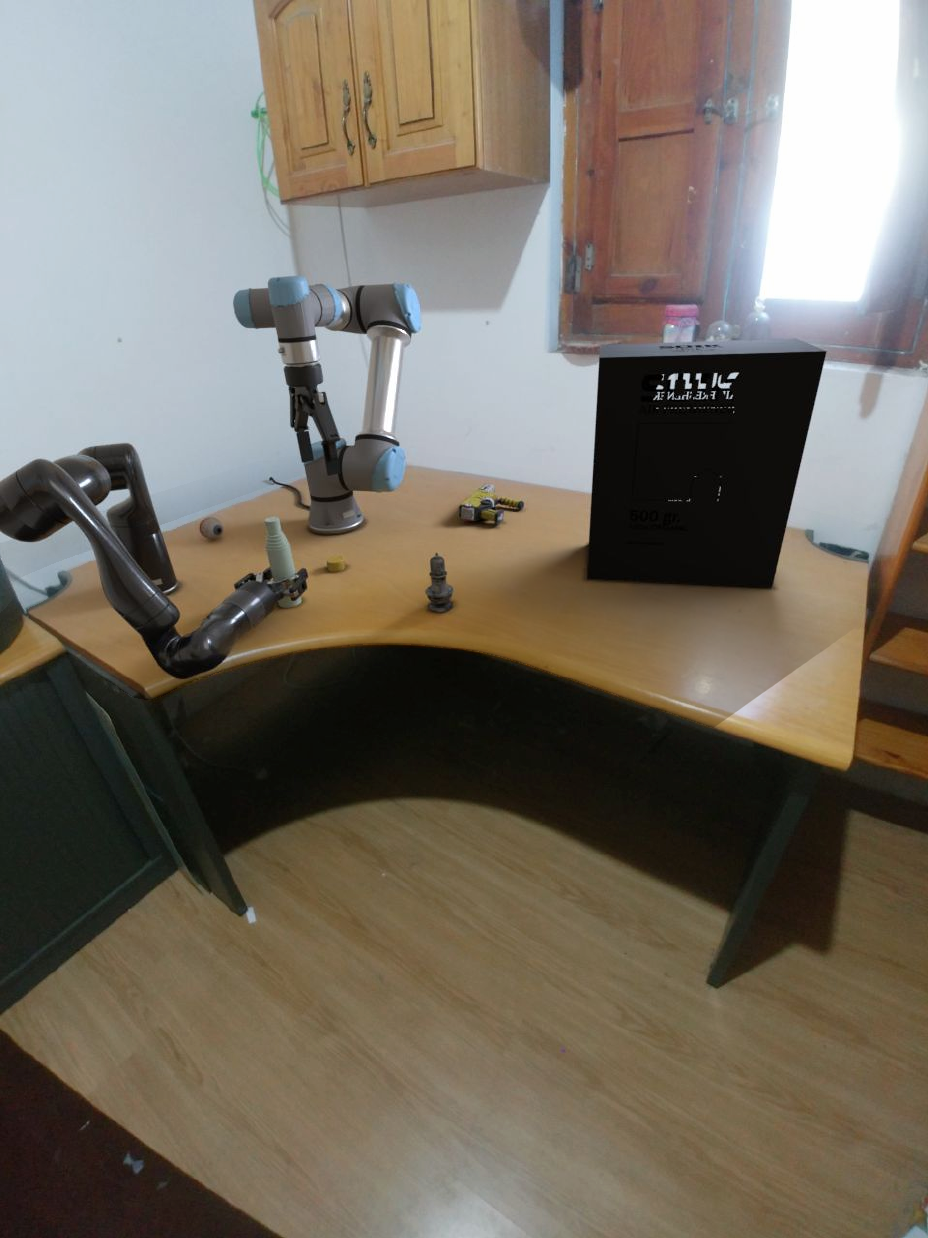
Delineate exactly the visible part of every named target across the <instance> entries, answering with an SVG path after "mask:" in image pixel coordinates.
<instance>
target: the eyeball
mask: <svg viewBox="0 0 928 1238" xmlns="http://www.w3.org/2000/svg"><path fill="white" fill-rule="evenodd" d="M198 529H199V533H200V534H201V535H202V537H203V538H205V539H206V540H210V541H211V540H212V541H213V540H217V539H219V538H221V537H222V535H223V533H224V525H223V522H222V521H221V520H219V519H218V518H216V517H210V516H209V517H206V518H204V519H203V520H201V522H200V523H199V528H198Z"/></svg>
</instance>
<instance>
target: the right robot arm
mask: <svg viewBox="0 0 928 1238" xmlns="http://www.w3.org/2000/svg"><path fill="white" fill-rule="evenodd" d="M232 306H233V311H234V315H235V318H236V319H237V322H238V323H239V324H240V325H241V326H242V327H244V328H246V329H255V330H259V329H275V331H276V335H277V342H278V346H279V348H278V349H277V353H278V354H280V357H281V362H282V364H284V365H285V366H284V367H283V373H284V378H285V384H286V385H287V386H288V394H289V425H290V427H291V429H293V430H294V432H295V435H296V439H297V444H298V450H299V456H300V461H301V463H303V467H304V471H305V477H306V481H307V486H308V492H309V498H310V505H308V504H304V503H303V502H302V494H301V492H300V490H299V489H297V488H296V487H295V486H292V485H291V484H287V483H281V482H278V481H276V480H275V479H274V478H273V477H272V476H269V478H268V481H272V482H273V483H274V484H275V485H278V486H282V487H285V488H290V489H292V490H293V491H295V492H296V493H297V495H298V504H299V505H300V506H301V507H303V508H306V509H309V513H308V521H307V522H308V523H307V524H308V528H309V529H308V530H310V531H311V532H312V533H314V534H317V535H323V536H324V535H325V536H327V535H329V536H331V535H339V534H340V535H341V534H345V533H350V532H353V531H355V530H357V529H359V528H361V527H362V526H363V525H364V523H365V519H364V514H363V512H362V510H361V508H360V505H359V504H358V501H357V500H356V498H355V495H354V492H371V493H372V492H373V493H377V494H378V493H379V494H380V493H391V492H394V491H396V490H397V489H398V487H400V486H401V484H402V482H403V480H404V476H405V473H406V469H407V461H406V459H407V458H406V453H405V451H404V448H402V447H400V444H401V443H400V441H399V440H398V438H397V437H396V427H397V426H396V425H397V418H398V409H399V399H400V390H401V382H402V372H403V364H404V362H403V361H404V353H405V348H407V347H408V346H409V345H410V344H411V342H412V335H413V334H414V335H415V334H416V333H419V332H420V330H421V327H422V313H421V306H420V302H419V298H418V296H417V293H416V291H415V289H414V288H413V286H412V285H410V284H409V283H397V282H393V283H383V284H361V285H360V284H359V285H358V284H357V285H353V286H347V287H343V288H342V287H341V288H337V289H335V288H334V287H333V286H332V285H328V284H323V283H319V284H317V283H315V284H310V285H309V284H308V280H307V278H306V277H305V276H304V275H288V276H276V277H275V276H274V277H270V278H269V279H268V281H267V287H261V288H251V287H250V288H245V289H240V290H238V291H237V292H235V294H234V295H233V300H232ZM316 328H325V329H326V330H329V331H331V332H343V333H349V334H357V335H366V337H367V338H368V340H369V341H370V343H371V346H370V352H369V353H370V354H369V363H368V371H367V380H366V381H367V382H366V390H365V398H364V399H365V400H364V409H363V415H362V416H363V417H362V427H361V428H362V429H361V431H360V432H358V433H357V434H356V435H355V438H354V443H353V445H348V444H347V441H346V439H345V438H342V437H341V436H340V432H339V431H338V428H337V425H336V422H335V419H334V417H333V413H332V411H331V407H330V405H329V400H328V396H327V393H326V391H320V392H319V389H318V386H319V385H321V384H323V382H324V375H323V374H324V373H323V369H322V364H321V363H320V362H319V361H320V360H321V356H320V349H319V343H318V339H317V333H316ZM309 417H311V418H312V420H313V422H314V425H315V426H316V429H317V431H318V434H319V436H320V437H321V439H322V440H318V441H315V442H313V443H312V441H311V437H310V436H311V435H310V431H309V430H310V427H309V425H308V422H309Z"/></svg>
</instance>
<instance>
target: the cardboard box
mask: <svg viewBox="0 0 928 1238" xmlns="http://www.w3.org/2000/svg"><path fill="white" fill-rule="evenodd" d="M827 352H828V351H827V350H824V349H822V348H820V347H818V346H815V345H813V344H811V343H808V342H806V341H802V340H801V339H799V338H768V339H766V338H765V339H737V340H736V339H735V340H709V341H708V340H707V341H705V340H703V341H675V342H672V341H671V342H648V343H647V342H646V343H645V342H644V343H643V342H642V343H616V344H615V343H614V344H612V343H611V344H600V348H599V355H598V356H599V358H598V370H597V371H598V372H597V390H596V391H597V392H596V409H595V410H596V411H595V426H594V445H593V459H592V460H593V461H592V462H593V463H592V479H591V497H590V515H589V532H588V533H589V535H588V547H587V548H588V549H587V568H586V580H588V581H611V582H635V583H655V584H657V583H658V584H675V585H676V584H679V585H698V586H699V585H703V586H725V587H743V588H744V587H745V588H746V587H747V588H768V589H773V586H774V582H775V578H776V573H777V569H778V565H779V560H780V555H781V550H782V548H783V543H784V540H785V539H784V538H785V534H786V530H787V525H788V521H789V517H790V513H791V512H790V511H791V509H792V504H793V499H794V496H795V490H796V486H797V483H798V477H799V474H800V469H801V465H802V461H803V456H804V451H805V447H806V444H807V443H806V442H807V439H808V434H809V429H810V425H811V421H812V416H813V412H814V408H815V404H816V400H817V395H818V391H819V387H820V382H821V378H822V373H823V368H824V365H825V360H826V356H827ZM685 374H689V378H688V385H690V388H686V384H687V379H685V378H684V375H685ZM699 374H700V379H699V378H697V375H699ZM715 374H716V380H715V384H714V386H713V383H714V378H715ZM731 374H736V376H735V378H729V377H730V376H731ZM672 375H677V378H676V379H675V380H674V384H673V385H674V387H673V388H671V385H672V379H671V378H670V377H671V376H672ZM719 379H720V381H719ZM700 384H701V385H705V387H704V388H699V385H700ZM719 384H720V385H724V384H729V387H720V386H719ZM659 386H661V387H662V388H658V387H659Z"/></svg>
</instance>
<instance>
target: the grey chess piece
mask: <svg viewBox="0 0 928 1238" xmlns="http://www.w3.org/2000/svg"><path fill="white" fill-rule="evenodd" d="M429 566H430V572H429V573H428V575H429V577H430V581H431V583H430V584H431V585H430V586H428V587H426V589H425V590H424V592H425V595H426V596H427V599H428V600H429V601H430V602H428V603H427V604H428V606H427V608H428V609H429V610H430V611H432V612H435V613H443V612H448V611H450V610H451V609H453V607H454V603H453V601H452V600H451V599H452V597H453V593H454V591H455V589H454V587H453V586H452V585H450V584H448V583H447V575H448V572H447V571H446V565H445V559H444V558H443V556H440V555H439V553H438V552H435V554H434V556H432V557H431V558H430V559H429Z"/></svg>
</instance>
